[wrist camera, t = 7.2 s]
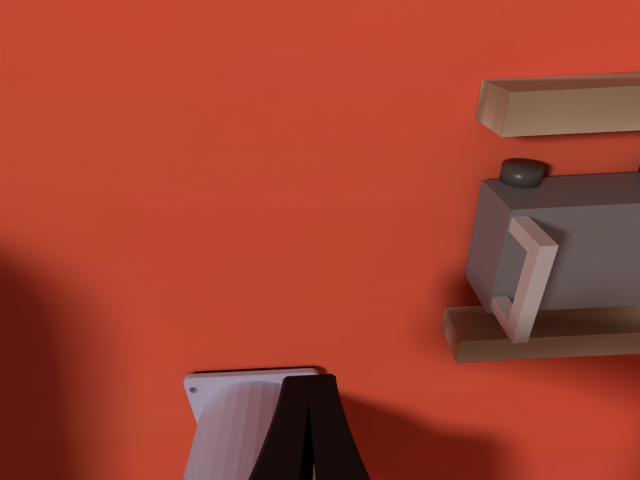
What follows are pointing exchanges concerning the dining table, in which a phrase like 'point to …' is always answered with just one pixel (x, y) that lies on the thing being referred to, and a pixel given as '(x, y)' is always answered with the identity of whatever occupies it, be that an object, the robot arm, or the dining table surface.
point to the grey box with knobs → (554, 243)
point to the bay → (548, 119)
